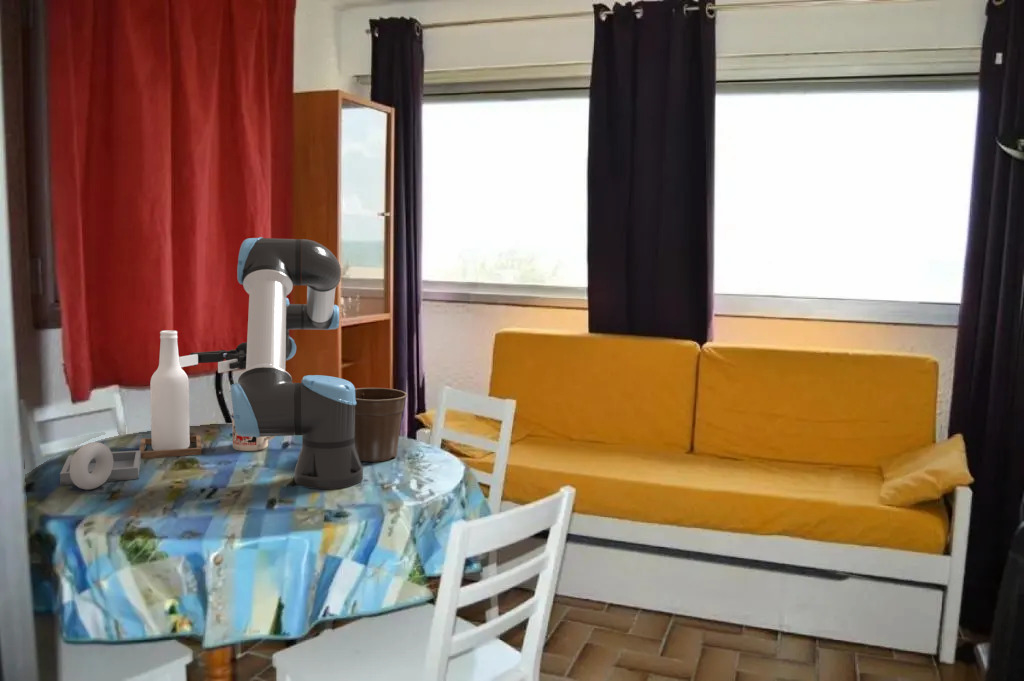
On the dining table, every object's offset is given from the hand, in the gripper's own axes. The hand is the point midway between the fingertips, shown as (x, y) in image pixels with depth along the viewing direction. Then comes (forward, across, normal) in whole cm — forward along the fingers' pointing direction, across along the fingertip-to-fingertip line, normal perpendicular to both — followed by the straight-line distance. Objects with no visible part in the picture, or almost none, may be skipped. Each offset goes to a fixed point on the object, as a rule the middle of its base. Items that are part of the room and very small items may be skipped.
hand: (198, 365), depth 202 cm
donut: (+41, -10, -20) cm, 46 cm away
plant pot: (-9, -48, -20) cm, 53 cm away
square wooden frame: (+10, 0, -20) cm, 22 cm away
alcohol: (+10, 0, -20) cm, 23 cm away
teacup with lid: (-1, -17, -20) cm, 27 cm away
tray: (+31, -2, -20) cm, 37 cm away
